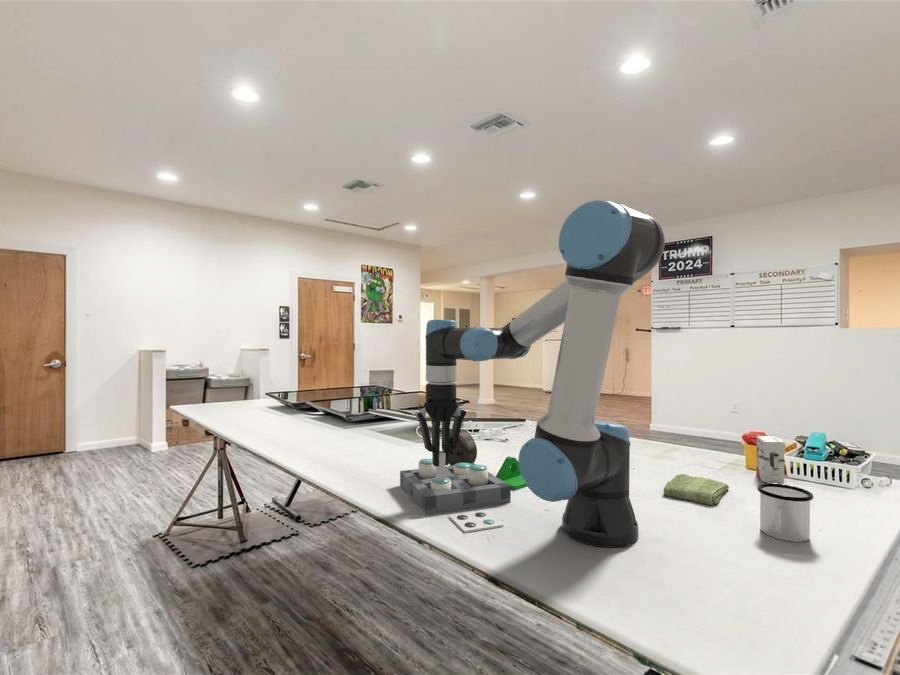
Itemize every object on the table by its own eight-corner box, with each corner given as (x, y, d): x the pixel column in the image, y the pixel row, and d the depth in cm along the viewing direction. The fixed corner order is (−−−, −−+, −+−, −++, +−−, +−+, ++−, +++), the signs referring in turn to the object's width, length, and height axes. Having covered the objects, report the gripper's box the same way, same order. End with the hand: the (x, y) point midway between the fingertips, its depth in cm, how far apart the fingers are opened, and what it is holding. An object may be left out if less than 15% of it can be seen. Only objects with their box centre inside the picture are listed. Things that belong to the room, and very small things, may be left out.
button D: (475, 482, 127) (475, 466, 127) (457, 484, 125) (457, 468, 125) (467, 477, 131) (467, 461, 131) (451, 479, 130) (451, 463, 129)
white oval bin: (762, 521, 104) (762, 480, 104) (816, 533, 97) (816, 490, 97) (749, 538, 95) (749, 493, 95) (807, 553, 89) (808, 505, 89)
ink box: (755, 474, 139) (755, 434, 139) (774, 476, 137) (775, 436, 137) (764, 483, 131) (764, 440, 131) (784, 485, 129) (785, 442, 129)
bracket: (515, 491, 124) (515, 465, 124) (493, 484, 130) (493, 460, 130) (543, 482, 132) (543, 457, 132) (521, 476, 138) (521, 452, 138)
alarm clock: (478, 473, 140) (478, 418, 140) (465, 477, 136) (465, 421, 136) (452, 465, 147) (452, 414, 147) (439, 469, 144) (439, 416, 144)
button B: (440, 479, 123) (440, 462, 123) (421, 481, 121) (421, 464, 121) (433, 473, 128) (433, 457, 128) (416, 475, 126) (416, 459, 126)
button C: (491, 486, 117) (491, 468, 117) (473, 488, 115) (473, 470, 115) (482, 480, 122) (482, 463, 122) (465, 482, 120) (465, 465, 120)
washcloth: (730, 490, 126) (730, 478, 126) (716, 509, 112) (716, 495, 112) (677, 481, 134) (677, 469, 134) (658, 496, 121) (658, 484, 121)
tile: (503, 526, 101) (503, 523, 101) (464, 532, 97) (464, 530, 97) (485, 511, 109) (485, 509, 109) (449, 517, 106) (449, 514, 106)
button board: (510, 502, 115) (510, 485, 115) (425, 514, 107) (425, 496, 107) (474, 477, 136) (474, 463, 136) (400, 485, 128) (400, 470, 128)
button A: (454, 499, 114) (454, 481, 114) (434, 502, 112) (434, 483, 112) (446, 493, 118) (446, 475, 118) (428, 495, 117) (428, 477, 117)
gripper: (459, 380, 121) (459, 471, 121) (411, 382, 116) (410, 477, 116) (471, 383, 114) (471, 480, 114) (420, 385, 109) (419, 486, 109)
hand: (440, 478), depth 115 cm, fingers closed
